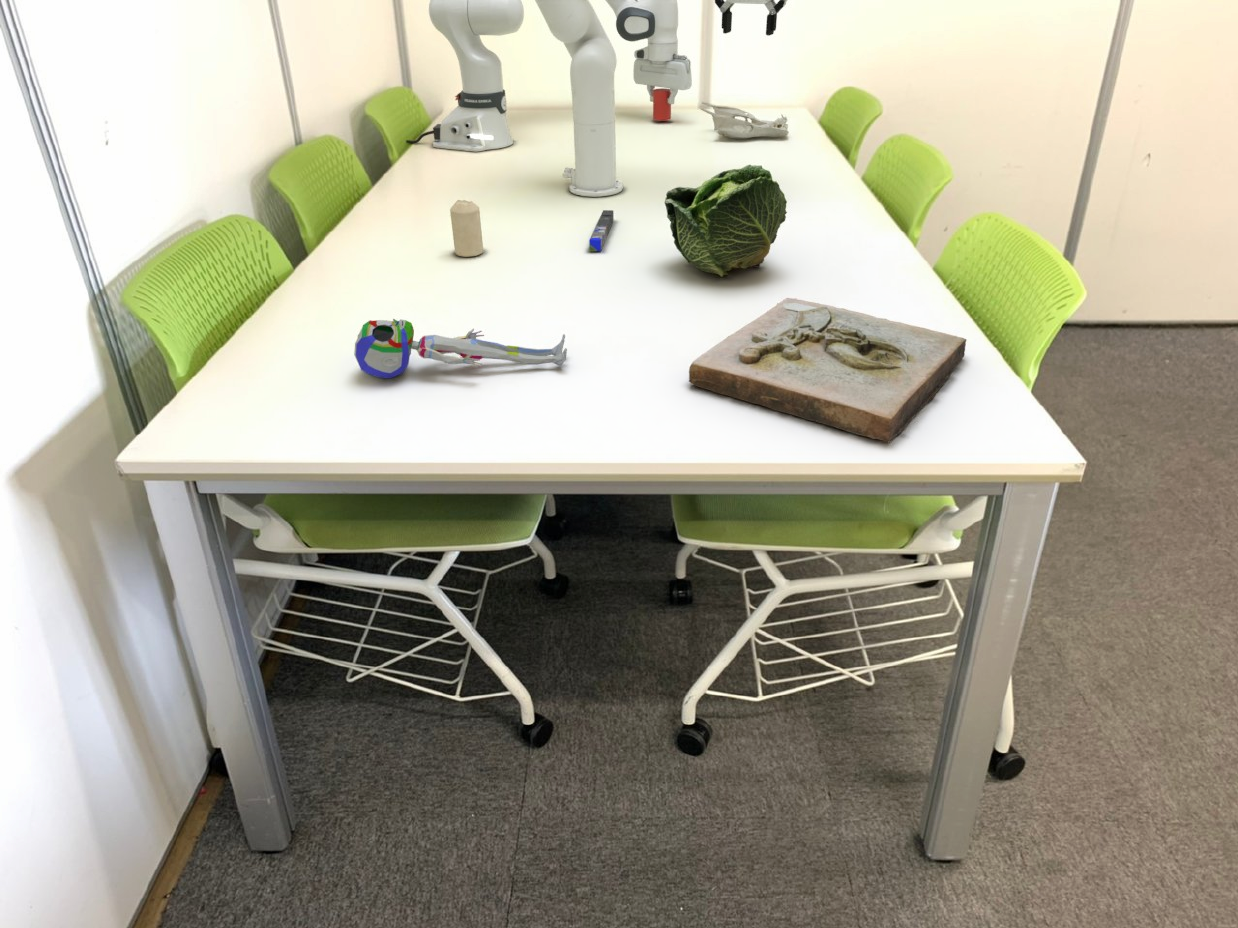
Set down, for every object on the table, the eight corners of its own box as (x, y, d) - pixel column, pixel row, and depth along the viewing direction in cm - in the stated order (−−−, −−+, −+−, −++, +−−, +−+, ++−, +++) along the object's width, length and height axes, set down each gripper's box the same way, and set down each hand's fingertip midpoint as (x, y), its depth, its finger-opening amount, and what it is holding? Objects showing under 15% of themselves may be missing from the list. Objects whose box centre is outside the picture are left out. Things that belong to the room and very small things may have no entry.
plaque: (899, 396, 108) (687, 337, 122) (890, 447, 111) (686, 383, 126) (977, 316, 128) (788, 274, 143) (967, 361, 132) (784, 315, 147)
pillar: (613, 210, 190) (600, 241, 173) (613, 220, 191) (600, 251, 174) (603, 210, 190) (589, 240, 173) (603, 220, 191) (589, 251, 174)
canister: (673, 119, 273) (674, 90, 269) (656, 121, 272) (657, 92, 267) (666, 116, 277) (667, 88, 273) (650, 117, 276) (650, 89, 272)
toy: (569, 347, 126) (349, 329, 122) (563, 400, 131) (350, 385, 126) (565, 318, 135) (359, 301, 130) (559, 369, 139) (360, 354, 134)
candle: (488, 249, 176) (483, 198, 171) (475, 258, 172) (470, 206, 167) (463, 246, 178) (457, 196, 173) (450, 255, 174) (443, 204, 168)
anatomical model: (702, 99, 259) (790, 97, 255) (702, 132, 264) (788, 131, 260) (698, 109, 247) (790, 108, 243) (698, 144, 252) (788, 143, 248)
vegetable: (694, 294, 173) (643, 202, 166) (775, 239, 175) (728, 145, 167) (734, 307, 155) (678, 205, 147) (824, 245, 156) (773, 141, 149)
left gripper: (697, 55, 261) (695, 105, 268) (643, 49, 272) (643, 97, 280) (683, 57, 257) (682, 108, 264) (630, 51, 269) (630, 100, 276)
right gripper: (800, -59, 182) (792, 33, 191) (720, -60, 189) (717, 30, 198) (788, -58, 177) (781, 38, 186) (707, -58, 183) (704, 34, 193)
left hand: (661, 102), depth 272 cm, fingers closed on canister, 5 cm apart
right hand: (748, 33), depth 192 cm, fingers open, 9 cm apart
